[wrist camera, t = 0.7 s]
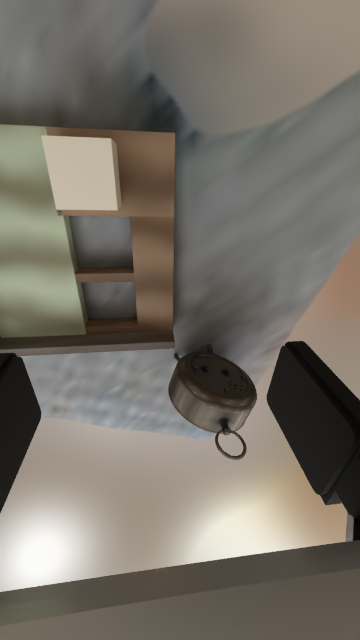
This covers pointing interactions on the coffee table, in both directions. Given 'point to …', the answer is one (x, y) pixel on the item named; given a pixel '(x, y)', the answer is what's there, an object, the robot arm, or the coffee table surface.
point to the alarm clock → (212, 394)
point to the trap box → (60, 256)
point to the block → (83, 172)
